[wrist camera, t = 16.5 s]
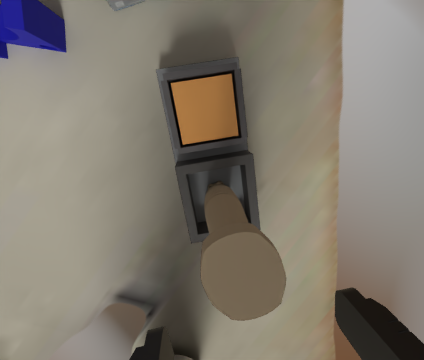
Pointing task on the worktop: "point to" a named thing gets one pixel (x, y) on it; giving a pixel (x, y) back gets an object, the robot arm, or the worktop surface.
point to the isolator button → (205, 108)
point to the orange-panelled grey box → (210, 149)
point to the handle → (238, 260)
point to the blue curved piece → (30, 26)
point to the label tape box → (122, 3)
